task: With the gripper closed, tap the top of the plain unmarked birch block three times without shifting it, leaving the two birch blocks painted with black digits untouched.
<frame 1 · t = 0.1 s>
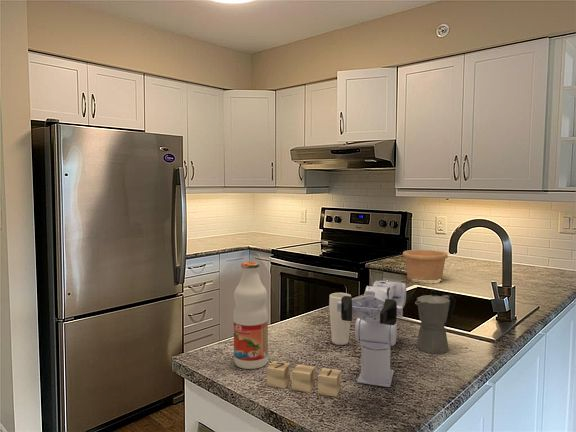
hand: (362, 316, 91), 22 cm above the worktop, tool horizontal, fingers open, 7 cm apart
pottery: (424, 281, 222), on the worktop
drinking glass: (340, 343, 135), on the worktop
block one: (329, 391, 104), on the worktop
plain block: (303, 387, 106), on the worktop
coffeepot: (434, 348, 131), on the worktop
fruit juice: (251, 363, 120), on the worktop
block seven: (278, 383, 108), on the worktop
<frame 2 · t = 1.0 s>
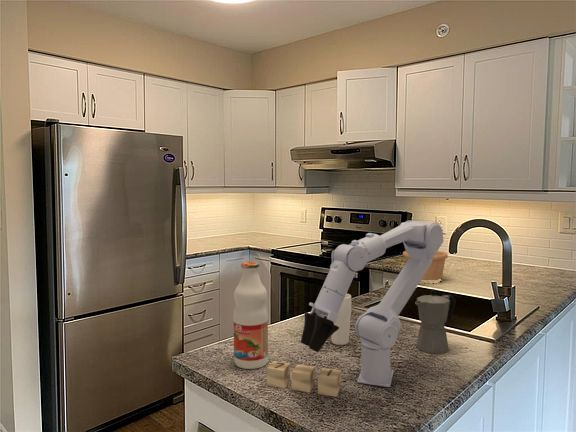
hand: (308, 347, 99), 12 cm above the worktop, tool tilted 30°, fingers open, 7 cm apart
nothing on the worktop moved.
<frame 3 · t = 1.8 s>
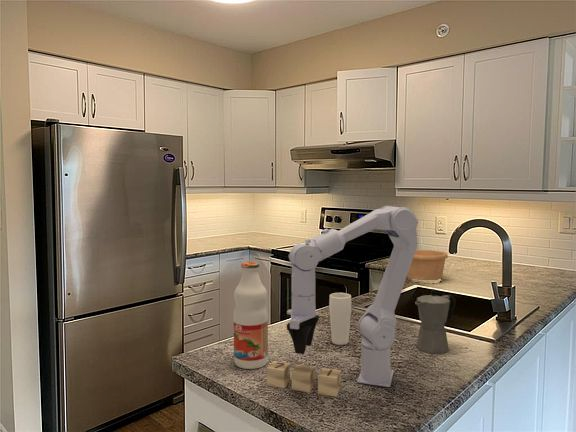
hand: (303, 349, 105), 9 cm above the worktop, tool pointing down, fingers open, 5 cm apart
nothing on the worktop moved.
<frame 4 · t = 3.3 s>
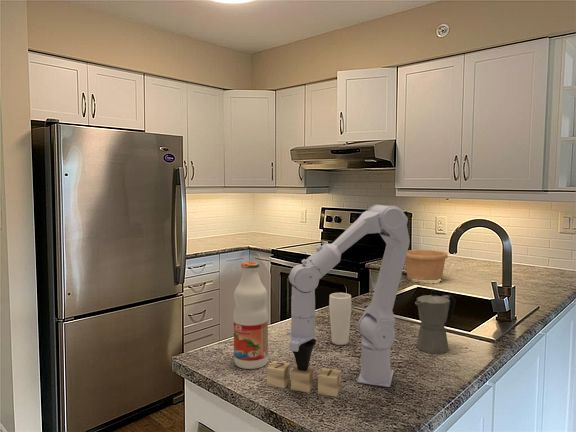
hand: (302, 369, 106), 4 cm above the worktop, tool pointing down, fingers closed, pressing on plain block
plain block: (302, 387, 106), on the worktop, touching gripper
everything else where it was.
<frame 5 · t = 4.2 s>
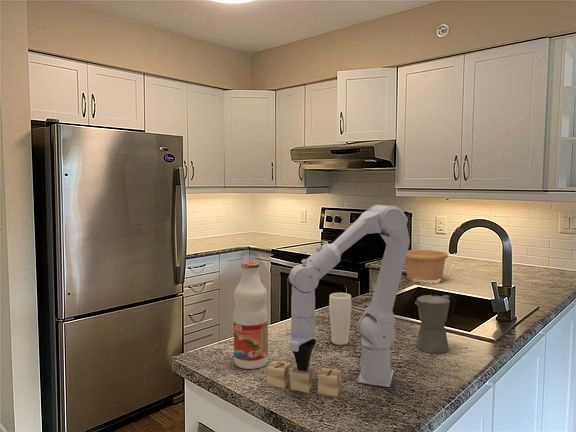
hand: (302, 369, 106), 4 cm above the worktop, tool pointing down, fingers closed, pressing on plain block
plain block: (302, 387, 106), on the worktop, touching gripper
everything else where it was.
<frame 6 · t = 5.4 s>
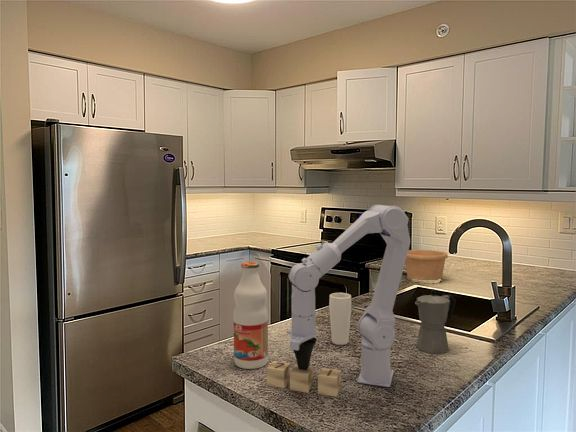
hand: (303, 368, 106), 5 cm above the worktop, tool pointing down, fingers closed
plain block: (301, 387, 106), on the worktop
everything else where it was.
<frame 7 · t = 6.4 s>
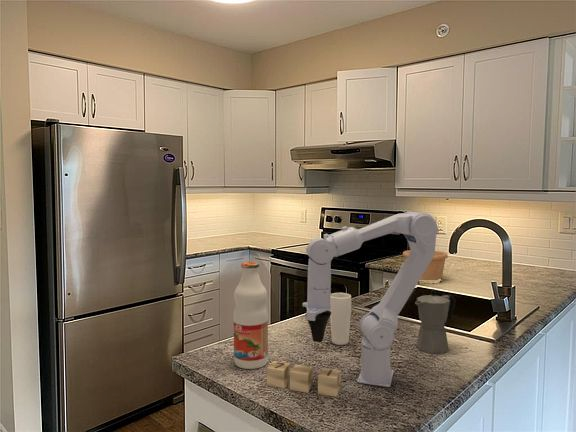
hand: (317, 340, 108), 10 cm above the worktop, tool pointing down, fingers closed
nothing on the worktop moved.
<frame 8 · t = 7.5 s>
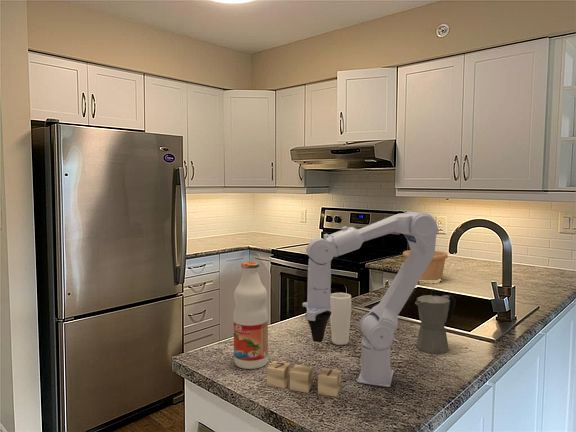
hand: (317, 340, 108), 10 cm above the worktop, tool pointing down, fingers closed
nothing on the worktop moved.
at the end: plain block moved 0.5 cm from its start; plain block tilted 0°; block seven moved 0.1 cm from its start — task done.
